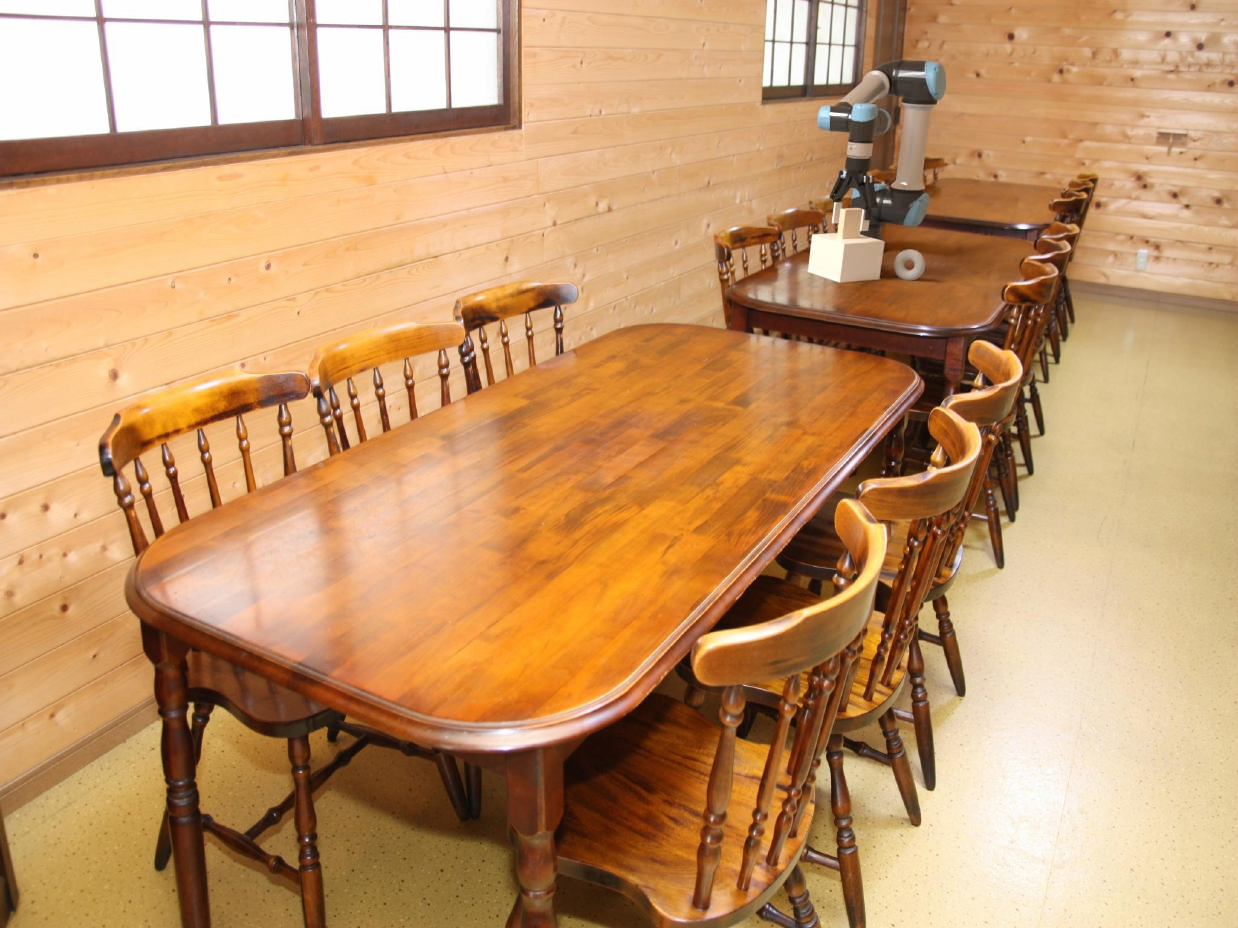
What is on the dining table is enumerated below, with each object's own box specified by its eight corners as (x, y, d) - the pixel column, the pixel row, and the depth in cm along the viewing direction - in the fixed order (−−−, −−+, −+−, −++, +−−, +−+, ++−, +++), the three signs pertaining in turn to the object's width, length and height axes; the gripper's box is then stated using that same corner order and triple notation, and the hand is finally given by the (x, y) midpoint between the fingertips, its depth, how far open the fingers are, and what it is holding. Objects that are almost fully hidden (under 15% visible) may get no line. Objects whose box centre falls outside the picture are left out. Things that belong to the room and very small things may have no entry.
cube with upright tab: (807, 271, 333) (815, 205, 325) (846, 268, 340) (855, 204, 332) (839, 282, 320) (848, 214, 312) (879, 278, 327) (888, 212, 319)
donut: (890, 279, 330) (894, 247, 326) (893, 277, 333) (898, 246, 329) (920, 284, 325) (925, 252, 321) (924, 282, 328) (929, 250, 324)
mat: (805, 272, 333) (805, 270, 333) (846, 269, 341) (847, 267, 341) (839, 284, 320) (839, 282, 320) (881, 280, 327) (881, 278, 327)
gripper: (823, 152, 324) (815, 220, 333) (876, 162, 304) (866, 234, 313) (842, 152, 328) (833, 219, 336) (895, 161, 308) (885, 233, 316)
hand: (849, 226), depth 324 cm, fingers open, 13 cm apart
